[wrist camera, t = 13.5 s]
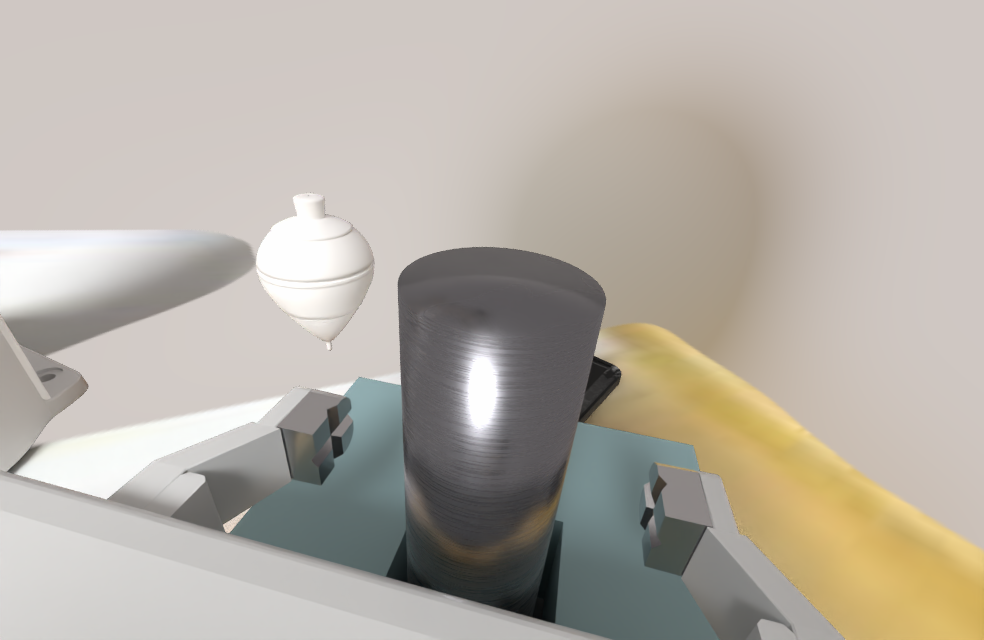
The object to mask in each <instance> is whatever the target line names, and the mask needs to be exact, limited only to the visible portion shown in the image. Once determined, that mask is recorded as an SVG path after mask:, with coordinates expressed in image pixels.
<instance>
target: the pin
mask: <svg viewBox="0 0 984 640" xmlns="http://www.w3.org/2000/svg"><path fill="white" fill-rule="evenodd" d="M398 303H399V304H398V305H399V335H400V365H401V396H402V426H403V456H404V487H405V517H406V547H407V577H408V583H410V584H413V585H417V586H421V587H424V588H428V589H431V590H435V591H439V592H442V593H446V594H449V595H453V596H457V597H460V598H464V599H467V600H471V601H475V602H478V603H482V604H486V605H489V606H493V607H496V608H500V609H504V610H507V611H511V612H515V613H518V614H522V615H526V616H529V617H532V616H533V612H534V608H535V603H536V599H537V595H538V591H539V586H540V582H541V578H542V574H543V569H544V565H545V561H546V556H547V552H548V548H549V544H550V539H551V535H552V531H553V527H554V522H555V518H556V514H557V510H558V505H559V501H560V497H561V493H562V488H563V484H564V480H565V476H566V471H567V467H568V463H569V459H570V454H571V450H572V446H573V442H574V437H575V433H576V429H577V425H578V420H579V416H580V412H581V407H582V403H583V399H584V395H585V390H586V386H587V382H588V378H589V373H590V369H591V365H592V361H593V356H594V352H595V348H596V344H597V339H598V335H599V331H600V327H601V322H602V318H603V314H604V310H605V305H606V297H605V293H604V291H603V289H602V287H601V286H600V285H599V284H598V282H597V281H596V280H594V279H593V278H592V277H591V276H590V275H588V274H587V273H585V272H584V271H582V270H580V269H579V268H577V267H575V266H573V265H571V264H568V263H566V262H563V261H561V260H558V259H555V258H552V257H549V256H545V255H541V254H538V253H533V252H528V251H522V250H516V249H508V248H495V247H494V248H493V247H472V248H459V249H452V250H446V251H441V252H437V253H433V254H430V255H427V256H425V257H423V258H420V259H418V260H416V261H414V262H413V263H411V264H410V265H408V266H407V267H406V268H405V269H404V270H403V271H402V273H401V275H400V277H399V280H398Z"/></svg>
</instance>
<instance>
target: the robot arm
mask: <svg viewBox="0 0 984 640" xmlns="http://www.w3.org/2000/svg"><path fill="white" fill-rule="evenodd" d="M87 389H88V384H87V383H86V381H85V380H84V378H83V377H82V375H81V374H80V373H79V372H77V371H75V370H73V369H71V368H69V367H67V366H65V365H62V364H60V363H58V362H56V361H54V360H52V359H50V358H47V357H45V356H43V355H41V354H39V353H37V352H35V351H32V350H30V349H28V348H26V347H24V346H22V345H20V344H18V342H17V341H16V339H15V337H14V336H13V334H12V333H11V331H10V329H9V328H8V326H7V324H6V323H5V321H4V319H3V318H2V316H1V314H0V640H613V639H609V638H605V637H602V636H598V635H594V634H591V633H587V632H584V631H580V630H576V629H573V628H569V627H565V626H562V625H558V624H555V623H551V622H547V621H544V620H540V619H536V618H533V617H529V616H526V615H522V614H518V613H515V612H511V611H507V610H504V609H500V608H496V607H493V606H489V605H486V604H482V603H478V602H475V601H471V600H467V599H464V598H460V597H457V596H453V595H449V594H446V593H442V592H439V591H435V590H431V589H428V588H424V587H421V586H417V585H413V584H410V583H406V582H402V581H399V580H395V579H392V578H388V577H384V576H381V575H377V574H374V573H370V572H366V571H363V570H359V569H356V568H352V567H348V566H345V565H341V564H338V563H334V562H330V561H327V560H323V559H319V558H316V557H312V556H309V555H305V554H301V553H298V552H294V551H291V550H287V549H283V548H280V547H276V546H273V545H269V544H265V543H262V542H258V541H254V540H251V539H247V538H244V537H240V536H236V535H233V534H229V533H226V532H225V530H224V527H223V524H225V523H226V522H228V521H229V520H231V519H232V518H234V517H236V516H237V515H239V514H240V513H242V512H244V511H245V510H247V509H248V508H250V507H251V506H253V505H255V504H256V503H258V502H259V501H261V500H263V499H264V498H266V497H267V496H269V495H270V494H272V493H274V492H275V491H277V490H278V489H280V488H282V487H283V486H285V485H286V484H288V483H289V482H291V481H292V480H297V481H302V482H306V483H311V484H315V485H320V486H321V485H322V484H323V483H324V481H325V480H326V478H327V477H328V476H329V474H330V473H331V471H332V470H333V468H334V467H335V464H334V459H335V458H337V457H339V456H341V455H343V454H344V453H345V451H346V450H347V448H348V447H349V444H350V442H351V439H352V436H353V430H354V425H353V420H352V419H351V417H350V416H349V415H348V413H349V411H350V410H351V409H352V407H351V400H350V399H349V398H348V397H345V396H341V395H337V394H333V393H328V392H324V391H320V390H316V389H315V390H314V389H310V388H306V387H302V386H297V387H294V388H293V389H292V390H291V391H290V392H288V393H287V394H286V395H285V396H284V397H283V398H282V399H281V400H280V401H279V402H278V403H277V404H276V405H275V406H274V407H273V408H272V409H271V410H270V411H269V412H268V413H267V414H266V415H265V416H264V417H263V418H262V419H261V420H260V421H259V422H258V423H254V422H251V423H248V424H246V425H243V426H241V427H238V428H236V429H233V430H230V431H228V432H225V433H223V434H220V435H218V436H215V437H213V438H210V439H208V440H205V441H203V442H200V443H197V444H195V445H192V446H190V447H187V448H185V449H182V450H180V451H177V452H175V453H172V454H169V455H167V456H164V457H162V458H159V459H157V460H154V461H153V462H151V463H150V464H149V465H148V466H147V467H145V468H144V469H143V470H142V471H141V472H139V473H138V474H137V475H136V476H135V477H133V478H132V479H131V480H130V481H128V482H127V483H126V484H125V485H124V486H122V487H121V488H120V489H119V490H118V491H116V492H115V493H114V494H113V495H112V496H110V497H109V498H108V499H107V500H106V499H103V498H99V497H96V496H92V495H88V494H85V493H81V492H78V491H74V490H70V489H67V488H63V487H59V486H56V485H52V484H49V483H45V482H41V481H38V480H34V479H31V478H27V477H23V476H20V475H16V474H12V473H9V472H7V471H8V470H9V469H10V468H11V467H12V466H13V465H14V464H15V463H16V462H17V461H18V460H19V459H20V458H21V457H22V456H23V455H24V454H25V453H26V452H27V451H28V450H29V448H30V447H31V446H32V445H33V443H34V442H35V440H36V439H37V437H38V436H39V435H40V433H41V431H42V430H43V429H44V427H45V426H46V425H47V423H48V422H49V421H50V420H51V419H52V418H53V417H54V416H56V415H57V414H58V413H60V412H61V411H62V410H64V409H65V408H66V407H68V406H69V405H70V404H72V403H73V402H74V401H76V400H77V399H78V398H79V397H81V396H82V395H83V394H84V393H85V392H86V391H87ZM291 479H292V480H291ZM649 481H650V482H649V483H647V484H645V485H644V487H643V490H642V493H641V497H640V504H639V519H640V524H641V526H642V527H643V528H644V530H645V532H644V535H643V538H642V550H643V559H644V566H645V567H649V568H653V569H656V570H660V571H664V572H667V573H671V574H674V575H678V576H682V577H681V579H682V580H683V582H684V584H685V585H686V587H687V588H688V590H689V592H690V593H691V595H692V596H693V598H694V600H695V601H696V603H697V604H698V606H699V607H700V609H701V611H702V612H703V614H704V615H705V617H706V619H707V620H708V622H709V623H710V625H711V627H712V628H713V630H714V631H715V633H716V634H717V636H718V638H719V639H720V640H845V638H844V637H843V636H842V635H841V634H840V633H839V632H838V631H837V630H836V629H835V628H834V627H833V626H832V625H831V624H830V623H829V622H828V621H827V620H826V619H825V618H824V616H823V615H822V614H821V613H820V612H819V611H818V610H817V609H816V608H815V607H814V606H813V605H812V604H811V603H810V602H809V601H808V600H807V599H806V598H805V597H804V596H803V595H802V594H801V592H800V591H799V590H798V589H797V588H796V587H795V586H794V585H793V584H792V583H791V582H790V581H789V580H788V579H787V578H786V577H785V576H784V575H783V574H782V573H781V572H780V571H779V570H778V568H777V567H776V566H775V565H774V564H773V563H772V562H771V561H770V560H769V559H768V558H767V557H766V556H765V555H764V554H763V553H762V552H761V551H760V550H759V549H758V548H757V547H756V546H755V544H754V543H753V542H752V541H751V540H750V539H749V538H748V537H747V536H744V535H740V534H739V531H738V528H737V525H736V522H735V519H734V516H733V513H732V510H731V506H730V503H729V500H728V497H727V494H726V491H725V488H724V485H723V482H722V479H721V478H720V476H719V475H716V474H711V473H706V472H701V471H695V470H690V469H686V468H681V467H676V466H671V465H666V464H661V463H656V462H654V463H653V464H652V465H651V468H650V470H649Z"/></svg>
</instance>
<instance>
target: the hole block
mask: <svg viewBox="0 0 984 640" xmlns="http://www.w3.org/2000/svg"><path fill="white" fill-rule="evenodd" d="M344 396H345V397H348V398H349V399H350V400H351V407H352V409H351V410H350V411H349V413H348V415H349V416H350V417H351V419H352V420H353V425H354V430H353V436H352V439H351V442H350V444H349V447H348V448H347V450H346V451H345V453H344V454H343V455H341V456H339V457H337V458H335V459H334V464H335V467H334V468H333V470H332V471H331V473H330V474H329V476H328V477H327V478H326V480H325V481H324V483H323V484H322V485H321V486H320V485H315V484H311V483H306V482H302V481H297V480H292V479H291V480H292V481H291V482H289V483H288V484H286V485H285V486H283V487H282V488H280V489H278V490H277V491H275V492H274V493H272V494H270V495H269V496H267V497H266V498H264V499H263V500H261V501H259V502H258V503H256V504H255V505H253V506H252V507H251V508H250V509H249V511H248V512H247V513H246V514H245V515H244V517H243V518H242V519H241V520H240V521H239V523H238V524H237V525H236V526H235V527H234V529H233V530H232V531H231V532H230V533H229V534H233V535H236V536H240V537H244V538H247V539H251V540H254V541H258V542H262V543H265V544H269V545H273V546H276V547H280V548H283V549H287V550H291V551H294V552H298V553H301V554H305V555H309V556H312V557H316V558H319V559H323V560H327V561H330V562H334V563H338V564H341V565H345V566H348V567H352V568H356V569H359V570H363V571H366V572H370V573H374V574H377V575H381V576H384V577H388V578H392V579H395V580H399V581H402V582H406V583H408V577H407V547H406V517H405V487H404V456H403V426H402V396H401V385H396V384H391V383H386V382H381V381H377V380H372V379H367V378H362V377H359V378H358V379H357V380H356V381H355V383H354V384H353V385H352V386H351V387H350V389H349V390H348V391H347V392H346V393H345V395H344ZM654 462H656V463H661V464H666V465H671V466H676V467H681V468H686V469H690V470H695V471H700V469H699V466H698V462H697V458H696V454H695V451H694V447H693V445H688V444H684V443H679V442H674V441H669V440H664V439H659V438H654V437H649V436H645V435H640V434H635V433H630V432H625V431H620V430H615V429H610V428H606V427H601V426H596V425H591V424H586V423H581V422H578V425H577V429H576V433H575V437H574V442H573V446H572V450H571V454H570V459H569V463H568V467H567V471H566V476H565V480H564V484H563V488H562V493H561V497H560V501H559V505H558V510H557V514H556V518H555V522H554V527H553V531H552V535H551V539H550V544H549V548H548V552H547V556H546V561H545V565H544V569H543V574H542V578H541V582H540V586H539V591H538V595H537V599H536V603H535V608H534V612H533V616H532V617H533V618H536V619H540V620H544V621H547V622H551V623H555V624H558V625H562V626H565V627H569V628H573V629H576V630H580V631H584V632H587V633H591V634H594V635H598V636H602V637H605V638H609V639H613V640H720V639H719V638H718V636H717V634H716V633H715V631H714V630H713V628H712V627H711V625H710V623H709V622H708V620H707V619H706V617H705V615H704V614H703V612H702V611H701V609H700V607H699V606H698V604H697V603H696V601H695V600H694V598H693V596H692V595H691V593H690V592H689V590H688V588H687V587H686V585H685V584H684V582H683V580H682V579H681V577H682V576H678V575H674V574H671V573H667V572H664V571H660V570H656V569H653V568H649V567H645V566H644V559H643V550H642V538H643V535H644V532H645V530H644V528H643V527H642V526H641V524H640V519H639V504H640V497H641V493H642V490H643V487H644V485H645V484H647V483H649V482H650V481H649V470H650V468H651V465H652V464H653V463H654Z"/></svg>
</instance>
